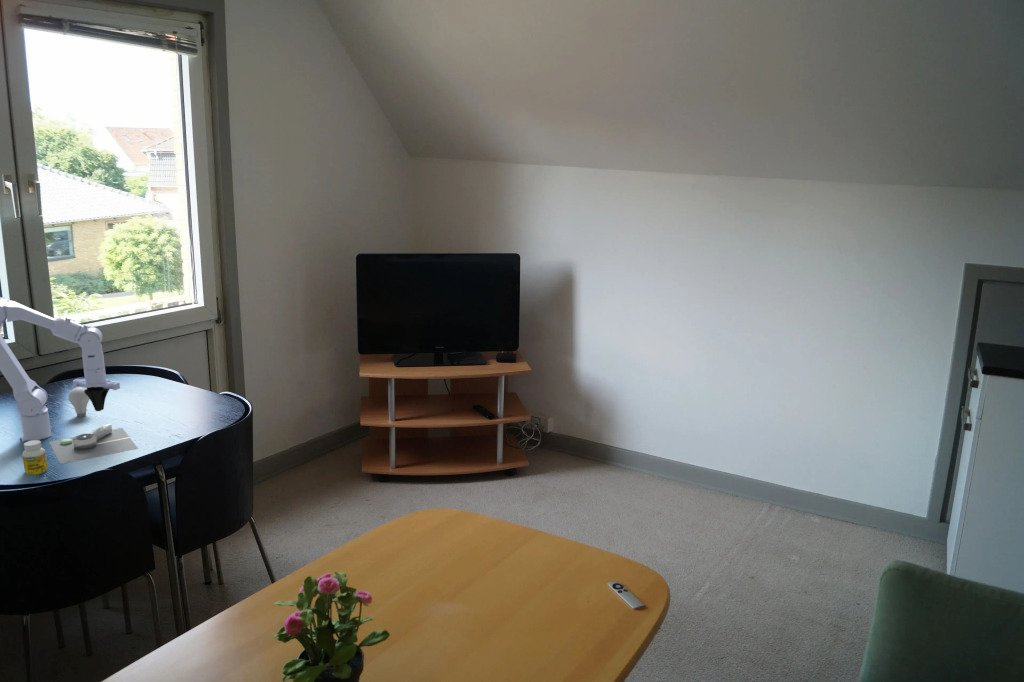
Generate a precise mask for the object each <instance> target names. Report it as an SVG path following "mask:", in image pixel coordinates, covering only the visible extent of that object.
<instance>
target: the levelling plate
mask: <svg viewBox="0 0 1024 682" xmlns="http://www.w3.org/2000/svg"><path fill="white" fill-rule="evenodd" d="M74 437H75V436H73V437H72V436H71V437H66V438H60V439H55V440H51V441H49V442H48V443H49V445H50V447H51V448H52V451H53V453H54V455H55V456H56V458H57V460H58V462H59V464H60V465H65V464H69V463H73V462H79V461H85V460H87V459H88V460H89V459H93V458H99V457H102V456H108V455H114V454H117V453H124V452H128V451H132V450H138V449H139V448H138V446H137V445H136V444H135V442H134V441H133V440H132V438H131V437H130V436H129V435H128V433H127V432H126V431H125V430H124V429H123V428H122V427H120V428H115V429H112V432H111V433H109V434H107V435H106V436H104V437H102V438H100V439H99V440H97V445H96V446H95V447H93V448H90V449H85V450H77V449H74V444H73V438H74Z"/></svg>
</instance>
